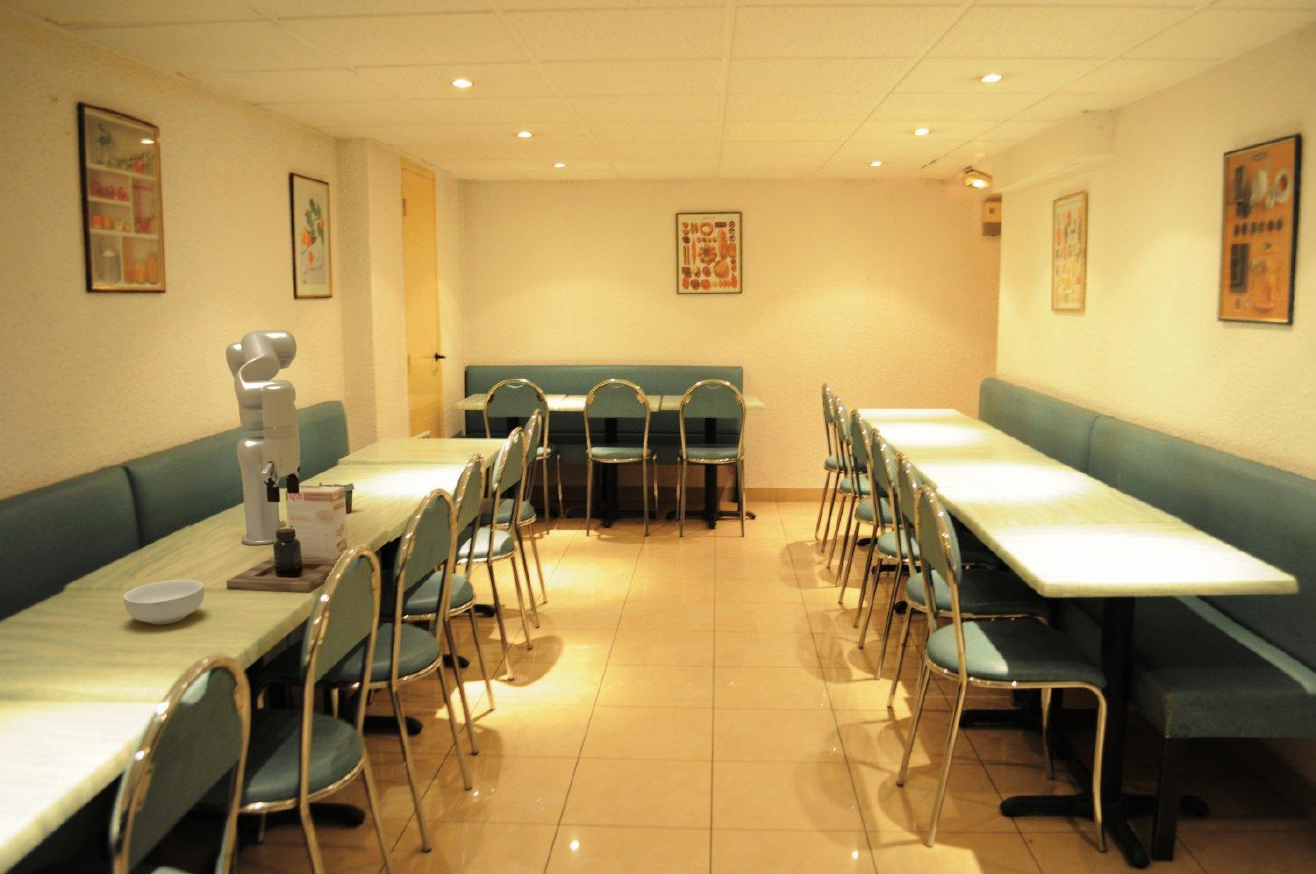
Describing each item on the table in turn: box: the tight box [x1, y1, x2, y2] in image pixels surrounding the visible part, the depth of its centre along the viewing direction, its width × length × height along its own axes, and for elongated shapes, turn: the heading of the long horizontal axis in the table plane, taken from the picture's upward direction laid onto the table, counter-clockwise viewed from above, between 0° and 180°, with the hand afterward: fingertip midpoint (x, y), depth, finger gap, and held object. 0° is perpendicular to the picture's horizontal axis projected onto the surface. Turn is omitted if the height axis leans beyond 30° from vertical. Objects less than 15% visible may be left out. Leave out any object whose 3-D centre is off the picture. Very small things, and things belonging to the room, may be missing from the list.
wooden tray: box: [225, 556, 338, 594], centre depth 270 cm, size 22×22×2 cm
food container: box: [318, 482, 355, 515], centre depth 342 cm, size 12×6×10 cm, turn 81°
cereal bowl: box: [123, 579, 205, 626], centre depth 239 cm, size 17×17×7 cm
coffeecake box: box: [284, 484, 349, 560], centre depth 291 cm, size 15×7×20 cm, turn 74°
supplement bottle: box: [272, 528, 303, 578], centre depth 270 cm, size 7×7×12 cm
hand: (283, 497), depth 267 cm, fingers open, 9 cm apart
